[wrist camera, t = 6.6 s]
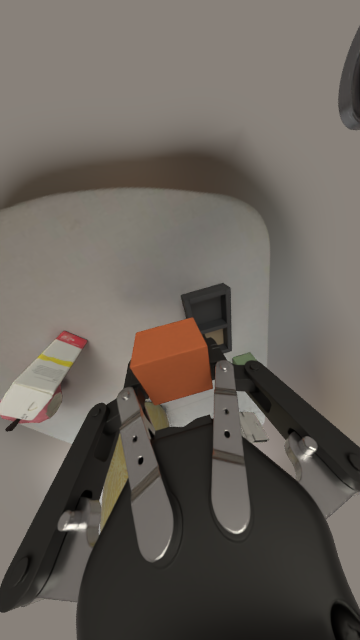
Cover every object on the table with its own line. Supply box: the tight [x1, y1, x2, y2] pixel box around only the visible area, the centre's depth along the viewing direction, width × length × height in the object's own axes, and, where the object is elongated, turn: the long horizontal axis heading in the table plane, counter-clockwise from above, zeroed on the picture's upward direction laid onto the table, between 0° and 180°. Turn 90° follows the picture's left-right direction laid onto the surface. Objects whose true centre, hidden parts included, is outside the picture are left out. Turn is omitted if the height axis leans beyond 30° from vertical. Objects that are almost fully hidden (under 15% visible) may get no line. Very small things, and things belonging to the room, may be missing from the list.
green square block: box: [233, 353, 257, 365], centre depth 40 cm, size 6×6×4 cm
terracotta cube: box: [130, 317, 213, 405], centre depth 12 cm, size 6×6×4 cm
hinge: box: [239, 412, 269, 443], centre depth 59 cm, size 14×5×10 cm, turn 78°
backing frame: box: [181, 283, 232, 353], centre depth 31 cm, size 9×17×3 cm, turn 13°
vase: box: [100, 402, 169, 531], centre depth 36 cm, size 17×17×27 cm
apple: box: [0, 383, 62, 431], centre depth 28 cm, size 10×9×10 cm
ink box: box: [0, 331, 87, 420], centre depth 24 cm, size 9×5×12 cm, turn 136°
